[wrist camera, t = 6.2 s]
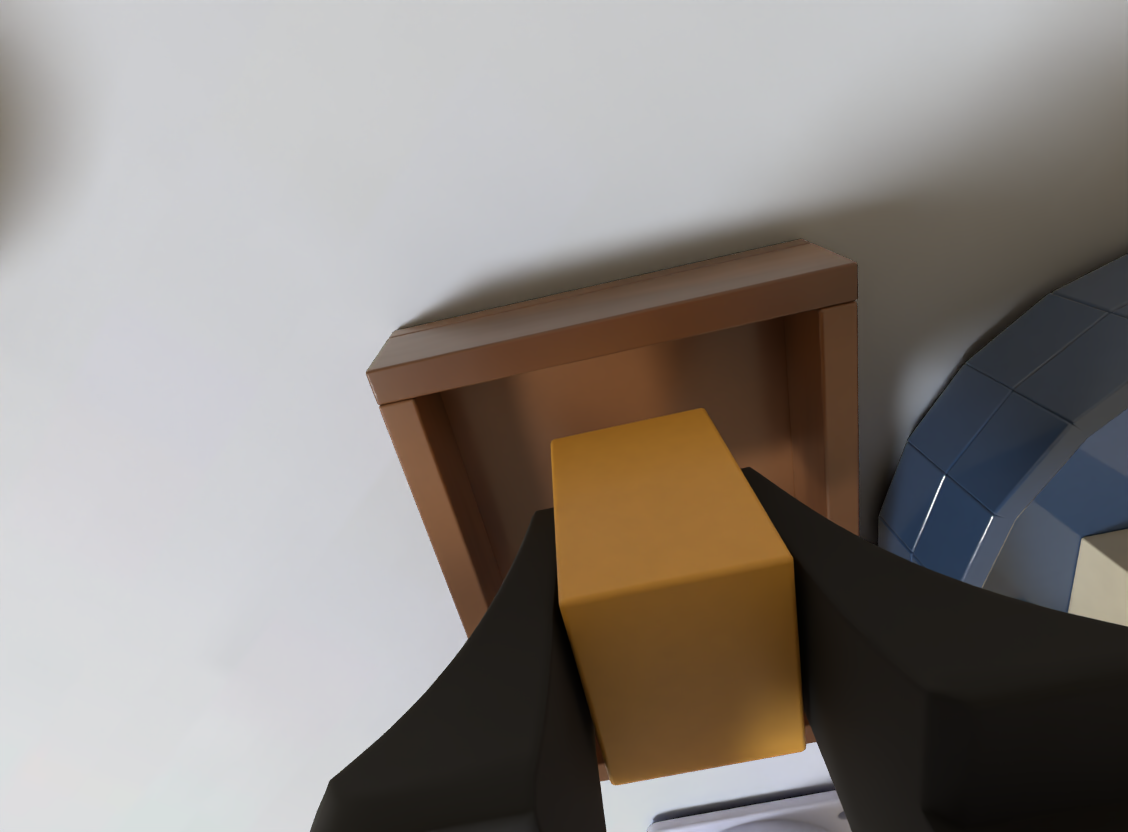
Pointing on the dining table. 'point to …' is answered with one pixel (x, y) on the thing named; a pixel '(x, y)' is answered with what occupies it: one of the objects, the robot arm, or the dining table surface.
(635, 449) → the block
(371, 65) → the dining table surface
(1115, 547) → the packet cream
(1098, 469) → the bowl
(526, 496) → the holder
